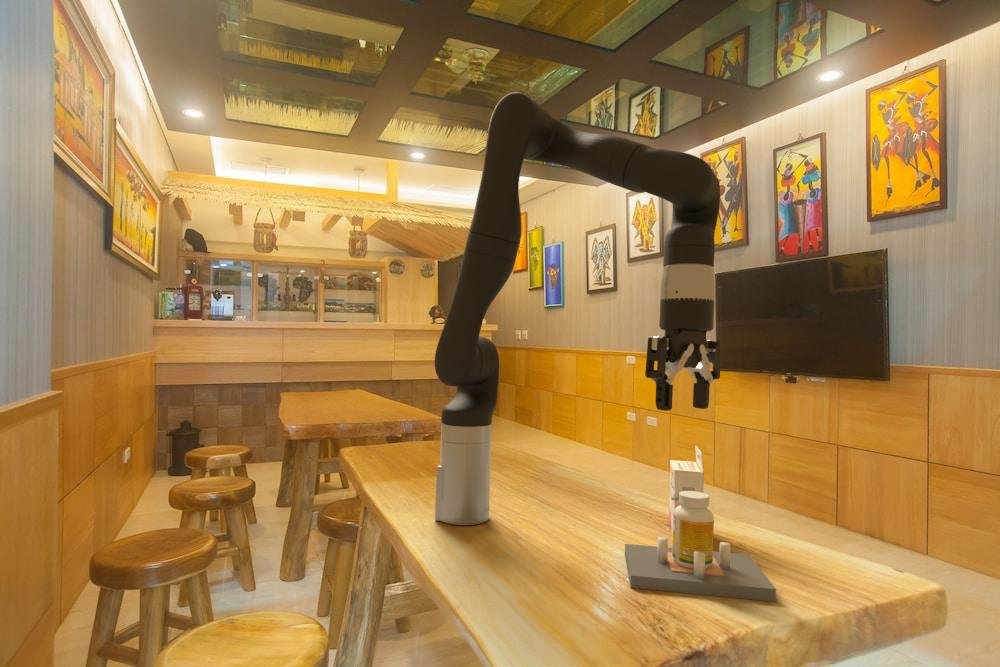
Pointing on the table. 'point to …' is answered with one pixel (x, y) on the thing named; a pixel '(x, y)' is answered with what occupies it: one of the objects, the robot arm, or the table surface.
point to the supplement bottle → (692, 529)
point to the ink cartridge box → (684, 480)
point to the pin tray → (697, 573)
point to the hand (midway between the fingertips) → (682, 409)
